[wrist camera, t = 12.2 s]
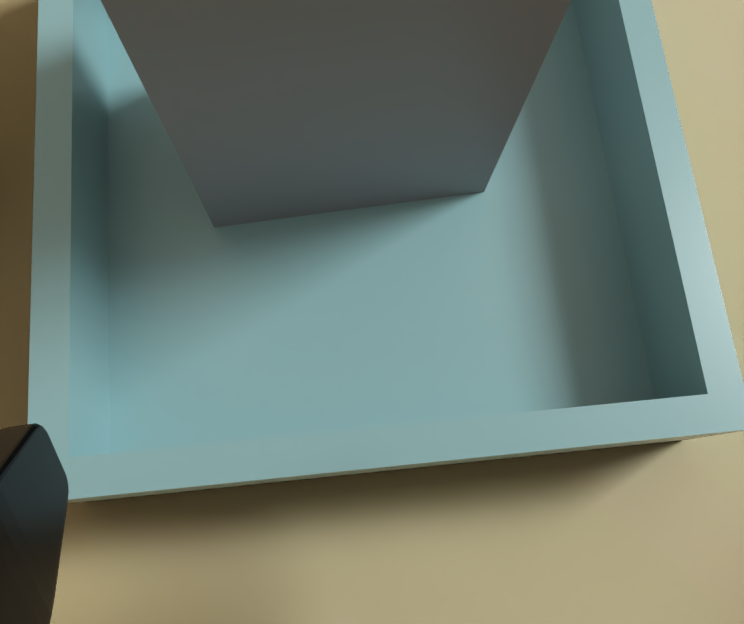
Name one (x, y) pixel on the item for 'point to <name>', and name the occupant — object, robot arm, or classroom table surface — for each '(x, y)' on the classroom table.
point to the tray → (371, 288)
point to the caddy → (335, 95)
